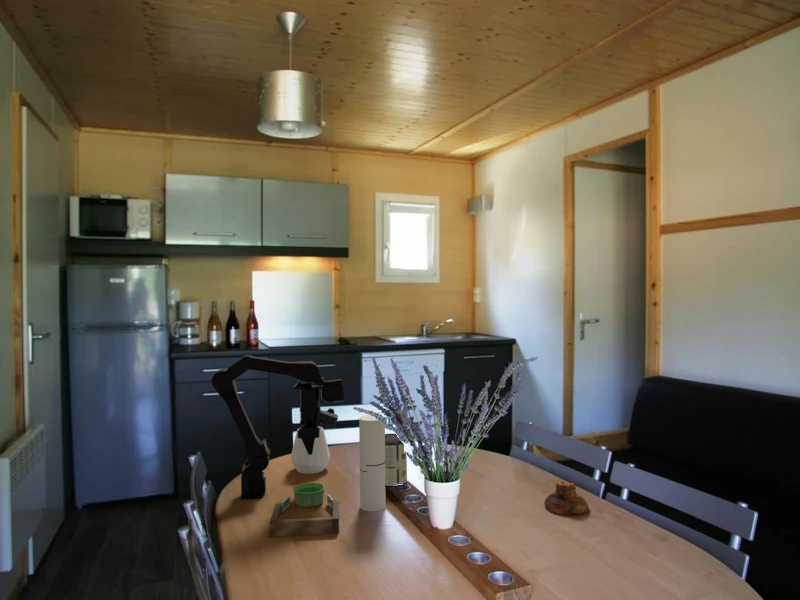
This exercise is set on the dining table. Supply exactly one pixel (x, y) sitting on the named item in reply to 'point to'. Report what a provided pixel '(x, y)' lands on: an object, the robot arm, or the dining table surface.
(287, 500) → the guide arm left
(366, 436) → the cylindrical container
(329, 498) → the bar
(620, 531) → the dining table surface
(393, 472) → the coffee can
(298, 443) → the cup
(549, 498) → the brown rounded necked piece
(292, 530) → the walnut dock
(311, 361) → the robot arm
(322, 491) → the ramekin
